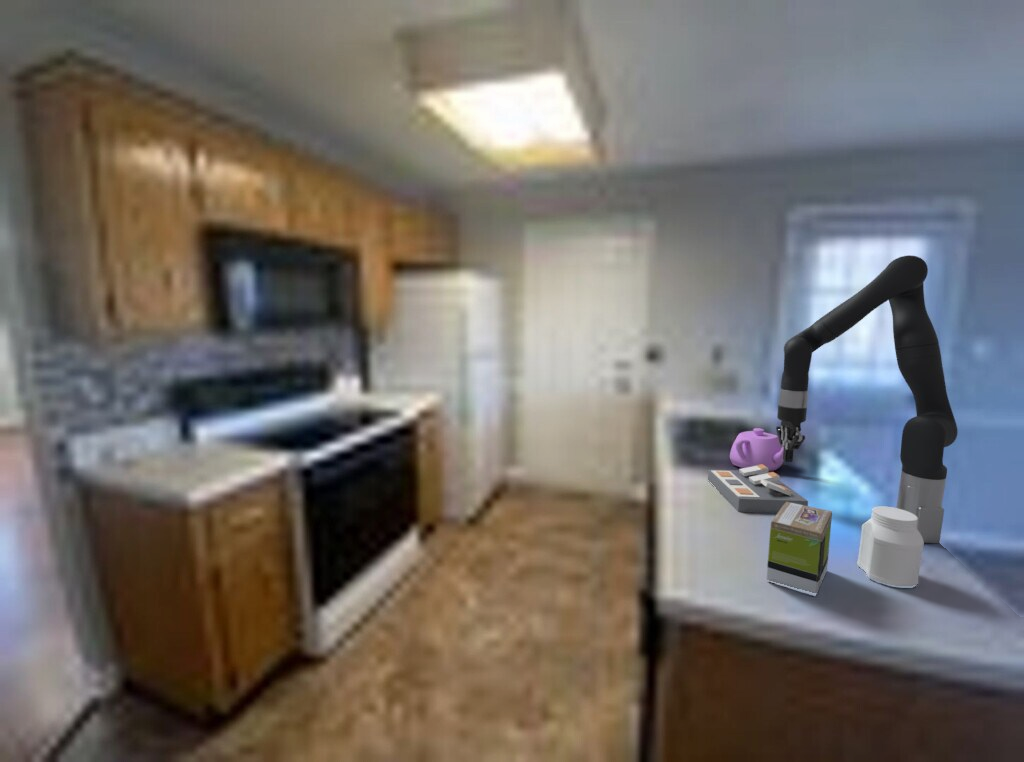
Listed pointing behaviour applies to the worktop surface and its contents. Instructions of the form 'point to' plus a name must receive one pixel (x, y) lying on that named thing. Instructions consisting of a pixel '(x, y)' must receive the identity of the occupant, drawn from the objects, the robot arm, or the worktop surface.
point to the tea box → (799, 546)
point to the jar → (891, 547)
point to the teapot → (757, 450)
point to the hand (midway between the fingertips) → (787, 461)
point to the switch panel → (751, 492)
